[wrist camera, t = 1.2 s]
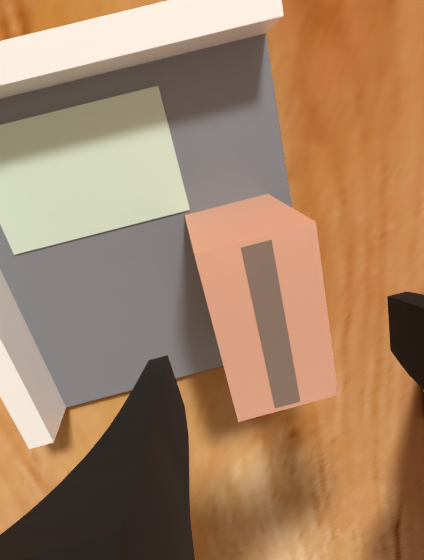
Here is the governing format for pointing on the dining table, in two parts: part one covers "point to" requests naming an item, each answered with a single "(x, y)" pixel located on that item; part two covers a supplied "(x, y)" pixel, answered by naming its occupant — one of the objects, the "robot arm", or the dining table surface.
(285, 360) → the block
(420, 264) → the dining table surface
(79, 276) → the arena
